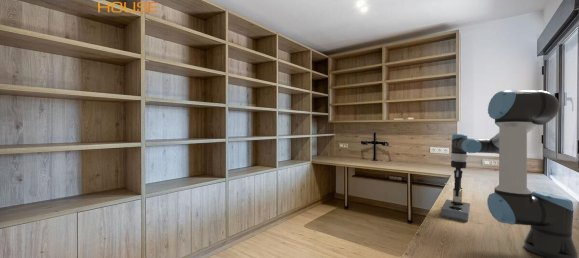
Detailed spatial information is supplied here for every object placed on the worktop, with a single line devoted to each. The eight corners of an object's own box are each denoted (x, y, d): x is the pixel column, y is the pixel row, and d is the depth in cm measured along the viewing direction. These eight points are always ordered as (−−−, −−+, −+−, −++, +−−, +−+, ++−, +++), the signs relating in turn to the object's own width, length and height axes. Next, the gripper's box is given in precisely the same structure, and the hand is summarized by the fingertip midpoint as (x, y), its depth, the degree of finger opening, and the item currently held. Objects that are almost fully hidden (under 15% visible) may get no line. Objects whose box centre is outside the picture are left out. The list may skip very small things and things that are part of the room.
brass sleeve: (459, 206, 148) (460, 190, 148) (451, 204, 152) (451, 188, 151) (463, 205, 150) (463, 189, 150) (454, 203, 154) (455, 188, 154)
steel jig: (467, 221, 134) (468, 213, 134) (441, 216, 142) (441, 208, 142) (469, 211, 152) (470, 203, 152) (446, 206, 159) (446, 199, 159)
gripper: (465, 163, 142) (464, 205, 142) (467, 159, 155) (465, 198, 155) (449, 161, 146) (448, 202, 147) (452, 158, 159) (451, 196, 160)
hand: (457, 200), depth 151 cm, fingers closed on brass sleeve, 4 cm apart
